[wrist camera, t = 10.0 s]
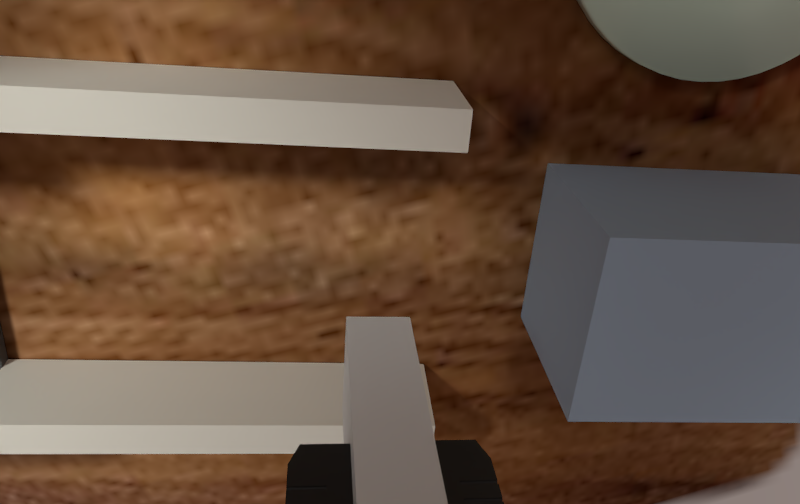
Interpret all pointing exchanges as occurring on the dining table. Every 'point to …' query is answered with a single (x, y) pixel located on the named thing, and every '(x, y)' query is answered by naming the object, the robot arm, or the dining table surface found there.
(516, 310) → the dining table surface
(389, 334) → the robot arm
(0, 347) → the bin
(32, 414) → the channel
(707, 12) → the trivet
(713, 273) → the painted block
